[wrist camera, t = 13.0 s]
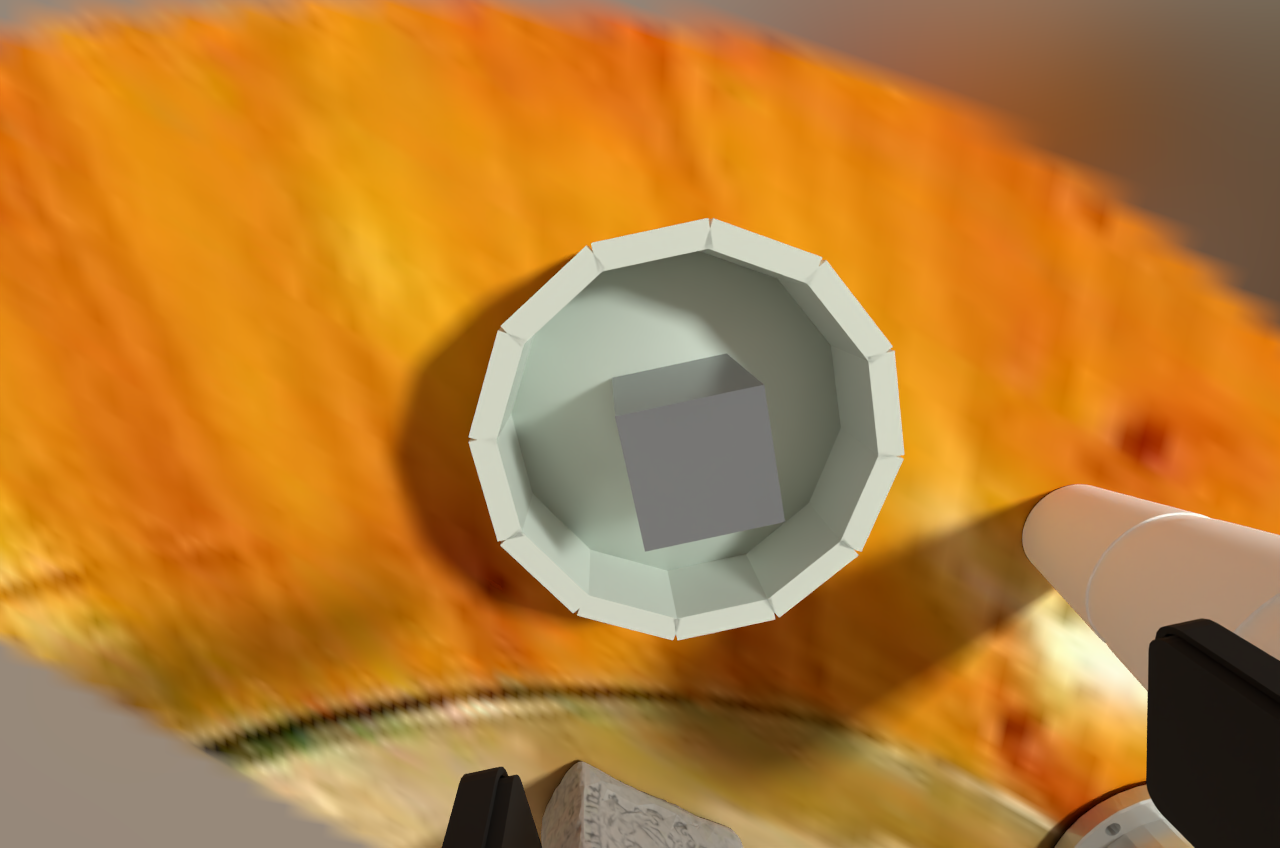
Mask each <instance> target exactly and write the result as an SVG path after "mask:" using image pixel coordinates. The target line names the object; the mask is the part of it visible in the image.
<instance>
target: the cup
mask: <svg viewBox="0 0 1280 848" xmlns="http://www.w3.org/2000/svg"><path fill="white" fill-rule="evenodd" d="M1022 543H1023V548H1024V551H1025V554H1026V556H1027V557H1028V559H1029V560H1030V562H1031V563H1032V564H1033V565H1034V566H1035V567H1036V568H1037V569H1038V570H1039V572H1040V573H1041V574H1042V575H1043V576H1044V577H1045V578H1046V579H1047V580H1048V582H1049V583H1050V584H1051V585H1052V586H1053V587H1054V588H1055V589H1056V590H1057V592H1058V593H1059V594H1060V595H1061V596H1062V597H1063V598H1064V599H1065V600H1066V601H1067V603H1068V604H1069V605H1070V606H1071V607H1072V608H1073V609H1074V610H1075V611H1076V613H1077V614H1078V615H1079V616H1080V617H1081V618H1082V619H1083V620H1084V621H1085V623H1086V624H1087V625H1088V626H1089V627H1090V628H1091V629H1092V630H1093V631H1094V632H1095V634H1096V635H1097V636H1098V637H1099V638H1100V639H1101V640H1102V641H1104V642H1105V643H1106V644H1107V645H1108V647H1109V648H1110V649H1111V651H1112V652H1113V653H1114V654H1115V655H1116V656H1117V657H1118V659H1119V660H1120V661H1121V662H1122V663H1123V664H1124V665H1125V666H1126V668H1127V669H1128V670H1129V671H1130V672H1131V673H1132V674H1133V675H1134V677H1135V678H1136V679H1137V680H1138V681H1139V682H1140V683H1141V684H1142V686H1143V687H1144V688H1145V689H1146V690H1147V691H1148V651H1149V644H1150V642H1151V641H1152V640H1155V637H1156V632H1157V631H1158V630H1159V628H1161V627H1164V626H1167V625H1172V624H1177V623H1182V622H1186V621H1191V620H1196V619H1200V618H1203V619H1210V620H1212V621H1214V622H1216V623H1218V624H1220V625H1222V626H1223V627H1225V628H1226V629H1228V630H1230V631H1231V632H1233V633H1235V634H1236V635H1238V636H1240V637H1241V638H1243V639H1245V640H1246V641H1248V642H1250V643H1251V644H1253V645H1255V646H1256V647H1258V648H1260V649H1261V650H1263V651H1264V652H1266V653H1268V654H1269V655H1271V656H1273V657H1274V658H1276V659H1278V660H1279V661H1280V535H1277V534H1273V533H1269V532H1265V531H1261V530H1257V529H1253V528H1249V527H1245V526H1242V525H1238V524H1234V523H1230V522H1226V521H1222V520H1217V519H1211V518H1209V517H1207V516H1204V515H1201V514H1197V513H1193V512H1189V511H1185V510H1182V509H1178V508H1174V507H1170V506H1166V505H1163V504H1159V503H1155V502H1151V501H1147V500H1143V499H1140V498H1136V497H1132V496H1128V495H1124V494H1121V493H1117V492H1113V491H1109V490H1105V489H1102V488H1098V487H1094V486H1090V485H1083V484H1076V485H1069V486H1065V487H1062V488H1059V489H1057V490H1055V491H1053V492H1051V493H1050V494H1048V495H1047V496H1045V497H1044V498H1043V499H1042V500H1041V501H1039V502H1038V503H1037V505H1036V506H1035V507H1034V508H1033V509H1032V511H1031V512H1030V514H1029V516H1028V518H1027V520H1026V522H1025V525H1024V528H1023V534H1022Z"/></svg>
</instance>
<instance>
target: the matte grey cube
mask: <svg viewBox="0 0 1280 848" xmlns="http://www.w3.org/2000/svg"><path fill="white" fill-rule="evenodd" d="M612 385H613V398H614V411H615V419H616V424H617V428H618V433H619V437H620V442H621V446H622V451H623V455H624V460H625V464H626V469H627V473H628V478H629V482H630V487H631V491H632V496H633V500H634V504H635V509H636V513H637V518H638V522H639V527H640V531H641V536H642V540H643V545H644V549H645V552H646V551H651V550H656V549H660V548H665V547H670V546H674V545H679V544H684V543H689V542H693V541H698V540H703V539H707V538H712V537H717V536H721V535H726V534H731V533H736V532H740V531H745V530H750V529H754V528H759V527H764V526H769V525H773V524H778V523H783V522H785V518H784V511H783V505H782V498H781V491H780V485H779V478H778V472H777V465H776V459H775V452H774V446H773V439H772V433H771V426H770V419H769V413H768V406H767V400H766V393H765V387H764V384H763V383H762V382H760V381H759V380H758V379H757V378H756V377H754V376H753V375H752V374H751V373H750V372H748V371H747V370H746V369H745V368H744V367H742V366H741V365H740V364H739V363H738V362H736V361H735V360H734V359H733V358H732V357H730V356H729V355H728V354H727V353H726V354H721V355H717V356H712V357H707V358H703V359H698V360H693V361H688V362H684V363H679V364H674V365H670V366H665V367H660V368H655V369H651V370H646V371H641V372H637V373H632V374H627V375H622V376H618V377H613V378H612Z"/></svg>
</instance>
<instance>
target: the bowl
mask: <svg viewBox="0 0 1280 848" xmlns="http://www.w3.org/2000/svg"><path fill="white" fill-rule="evenodd" d="M591 245H592V249H591V248H590V247H589V246H585V247H584V248H583V249H582V250H581V251H580V252H579V253H578V254H577V255H576V256H575V257H574V258H572V259H571V260H570V261H569V262H568V263H567V264H566V265H565V266H564V267H563V268H562V269H561V270H560V271H559V272H558V273H556V274H555V275H554V276H553V277H552V278H551V279H550V280H549V281H548V282H547V283H546V284H545V285H544V286H543V287H542V288H541V289H539V290H538V291H537V292H536V293H535V294H534V295H533V296H532V297H531V298H530V299H529V300H528V301H527V302H526V303H525V304H523V305H522V306H521V307H520V308H519V309H518V310H517V311H516V312H515V313H514V314H513V315H512V316H511V317H510V318H509V319H507V320H506V321H505V322H504V323H503V324H502V325H501V327H502V328H500V329H499V330H498V332H497V335H496V339H495V342H494V346H493V350H492V353H491V357H490V361H489V364H488V368H487V371H486V375H485V379H484V382H483V386H482V390H481V393H480V397H479V401H478V404H477V408H476V411H475V415H474V419H473V422H472V426H471V430H470V433H469V438H471V439H470V440H469V446H470V449H471V452H472V456H473V459H474V463H475V466H476V469H477V473H478V476H479V480H480V483H481V486H482V490H483V493H484V497H485V500H486V503H487V507H488V510H489V514H490V517H491V520H492V524H493V527H494V531H495V534H496V538H497V541H501V544H500V546H501V547H502V548H503V549H505V550H506V551H507V552H508V553H509V554H510V555H511V556H512V557H513V558H514V559H515V560H516V561H517V562H518V563H520V564H521V565H522V566H523V567H524V568H525V569H526V570H527V571H528V572H529V573H530V574H531V575H532V576H534V577H535V578H536V579H537V580H538V581H539V582H540V583H541V584H542V585H543V586H544V587H545V588H546V589H547V590H549V591H550V592H551V593H552V594H553V595H554V596H555V597H556V598H557V599H558V600H559V601H560V602H561V603H562V604H564V605H565V606H566V607H567V608H568V609H569V610H570V611H571V612H572V613H574V612H576V611H577V616H581V617H585V618H588V619H592V620H596V621H600V622H604V623H608V624H612V625H615V626H619V627H623V628H627V629H631V630H635V631H639V632H643V633H646V634H650V635H654V636H658V637H662V638H666V639H670V640H674V637H675V635H676V636H677V640H682V639H687V638H692V637H696V636H701V635H706V634H710V633H715V632H720V631H724V630H729V629H734V628H738V627H743V626H748V625H752V624H757V623H762V622H766V621H771V620H775V614H776V615H777V616H778V617H779V618H780V617H781V616H782V615H783V614H785V613H786V612H787V611H788V610H790V609H791V608H792V607H794V606H795V605H796V604H797V603H799V602H800V601H801V600H802V599H804V598H805V597H806V596H808V595H809V594H810V593H811V592H813V591H814V590H815V589H816V588H818V587H819V586H820V585H821V584H823V583H824V582H825V581H827V580H828V579H829V578H830V577H832V576H833V575H834V574H835V573H837V572H838V571H839V570H841V569H842V568H843V567H844V566H846V565H847V564H848V563H849V562H851V561H852V560H853V559H854V558H856V557H857V556H858V554H857V553H856V552H855V550H857V551H860V552H862V549H863V547H864V545H865V543H866V541H867V538H868V536H869V534H870V532H871V530H872V527H873V525H874V523H875V521H876V518H877V516H878V514H879V512H880V510H881V507H882V505H883V503H884V501H885V499H886V496H887V494H888V492H889V490H890V488H891V485H892V483H893V481H894V479H895V477H896V474H897V472H898V470H899V468H900V466H901V463H902V461H903V458H901V457H900V455H904V446H903V435H902V425H901V414H900V404H899V393H898V383H897V372H896V362H895V351H893V350H890V348H892V347H893V346H892V345H891V344H890V342H889V341H888V340H887V338H886V337H885V336H884V334H883V333H882V332H881V331H880V329H879V328H878V327H877V325H876V324H875V323H874V322H873V320H872V319H871V318H870V316H869V315H868V314H867V312H866V311H865V310H864V309H863V307H862V306H861V305H860V303H859V302H858V301H857V299H856V298H855V297H854V296H853V294H852V293H851V292H850V290H849V289H848V288H847V286H846V285H845V284H844V283H843V281H842V280H841V279H840V277H839V276H838V275H837V273H836V272H835V271H834V270H833V268H832V267H831V266H830V264H829V263H828V262H827V260H821V259H822V257H820V256H817V255H814V254H812V253H809V252H806V251H803V250H800V249H798V248H795V247H792V246H789V245H786V244H784V243H781V242H778V241H775V240H773V239H770V238H767V237H764V236H761V235H759V234H756V233H753V232H750V231H747V230H745V229H742V228H739V227H736V226H733V225H731V224H728V223H725V222H722V221H719V220H717V219H714V218H713V219H708V218H706V219H701V220H697V221H692V222H687V223H683V224H678V225H673V226H669V227H664V228H659V229H654V230H650V231H645V232H640V233H636V234H631V235H626V236H622V237H617V238H612V239H608V240H603V241H598V242H594V243H591ZM726 353H727V354H728V355H729V356H730V357H732V358H733V359H734V360H735V361H736V362H738V363H739V364H740V365H741V366H742V367H744V368H745V369H746V370H747V371H748V372H750V373H751V374H752V375H753V376H754V377H756V378H757V379H758V380H759V381H760V382H762V383H763V384H764V387H765V393H766V400H767V406H768V413H769V419H770V426H771V433H772V439H773V446H774V452H775V459H776V465H777V472H778V478H779V485H780V491H781V498H782V505H783V511H784V518H785V522H783V523H778V524H773V525H769V526H764V527H759V528H754V529H750V530H745V531H740V532H736V533H731V534H726V535H721V536H717V537H712V538H707V539H703V540H698V541H693V542H689V543H684V544H679V545H674V546H670V547H665V548H660V549H656V550H651V551H646V552H645V549H644V545H643V540H642V536H641V531H640V527H639V522H638V518H637V513H636V509H635V504H634V500H633V496H632V491H631V487H630V482H629V478H628V473H627V469H626V464H625V460H624V455H623V451H622V446H621V442H620V437H619V433H618V428H617V424H616V419H615V411H614V398H613V385H612V378H613V377H618V376H622V375H627V374H632V373H637V372H641V371H646V370H651V369H655V368H660V367H665V366H670V365H674V364H679V363H684V362H688V361H693V360H698V359H703V358H707V357H712V356H717V355H721V354H726ZM774 613H775V614H774Z"/></svg>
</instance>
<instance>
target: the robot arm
mask: <svg viewBox="0 0 1280 848" xmlns="http://www.w3.org/2000/svg"><path fill="white" fill-rule="evenodd" d="M442 848H542V845H541V842H540V839H539V836H538V833H537V829H536V826H535V823H534V820H533V817H532V814H531V810H530V807H529V804H528V801H527V798H526V795H525V791H524V788H523V785H522V782H521V779H520V777H519V776H518V775H512V776H508V774H507V772H506V770H505V769H504V767H497V768H492V769H488V770H483V771H478V772H473V773H469V774H464V776H463V777H462V778H461V781H460V783H459V787H458V790H457V794H456V798H455V801H454V805H453V809H452V812H451V816H450V820H449V824H448V827H447V831H446V835H445V838H444V842H443V846H442ZM1054 848H1280V661H1279V660H1278V659H1276V658H1274V657H1273V656H1271V655H1269V654H1268V653H1266V652H1264V651H1263V650H1261V649H1260V648H1258V647H1256V646H1255V645H1253V644H1251V643H1250V642H1248V641H1246V640H1245V639H1243V638H1241V637H1240V636H1238V635H1236V634H1235V633H1233V632H1231V631H1230V630H1228V629H1226V628H1225V627H1223V626H1222V625H1220V624H1218V623H1216V622H1214V621H1212V620H1210V619H1203V618H1200V619H1196V620H1191V621H1186V622H1182V623H1177V624H1172V625H1167V626H1164V627H1161V628H1159V630H1158V631H1157V632H1156V637H1155V640H1152V641H1151V642H1150V644H1149V651H1148V713H1147V775H1146V785H1142V786H1137V787H1134V788H1132V789H1129V790H1126V791H1123V792H1121V793H1118V794H1116V795H1114V796H1112V797H1110V798H1108V799H1106V800H1105V801H1103V802H1101V803H1099V804H1097V805H1096V806H1095V807H1093V808H1092V809H1090V810H1089V811H1088V812H1086V813H1085V814H1084V815H1082V816H1081V817H1080V818H1079V819H1078V820H1077V821H1076V822H1075V823H1074V824H1073V825H1072V826H1071V827H1070V828H1069V829H1068V830H1067V831H1066V832H1065V833H1064V835H1063V836H1062V837H1061V839H1060V840H1059V841H1058V843H1057V844H1056V846H1055V847H1054Z"/></svg>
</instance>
